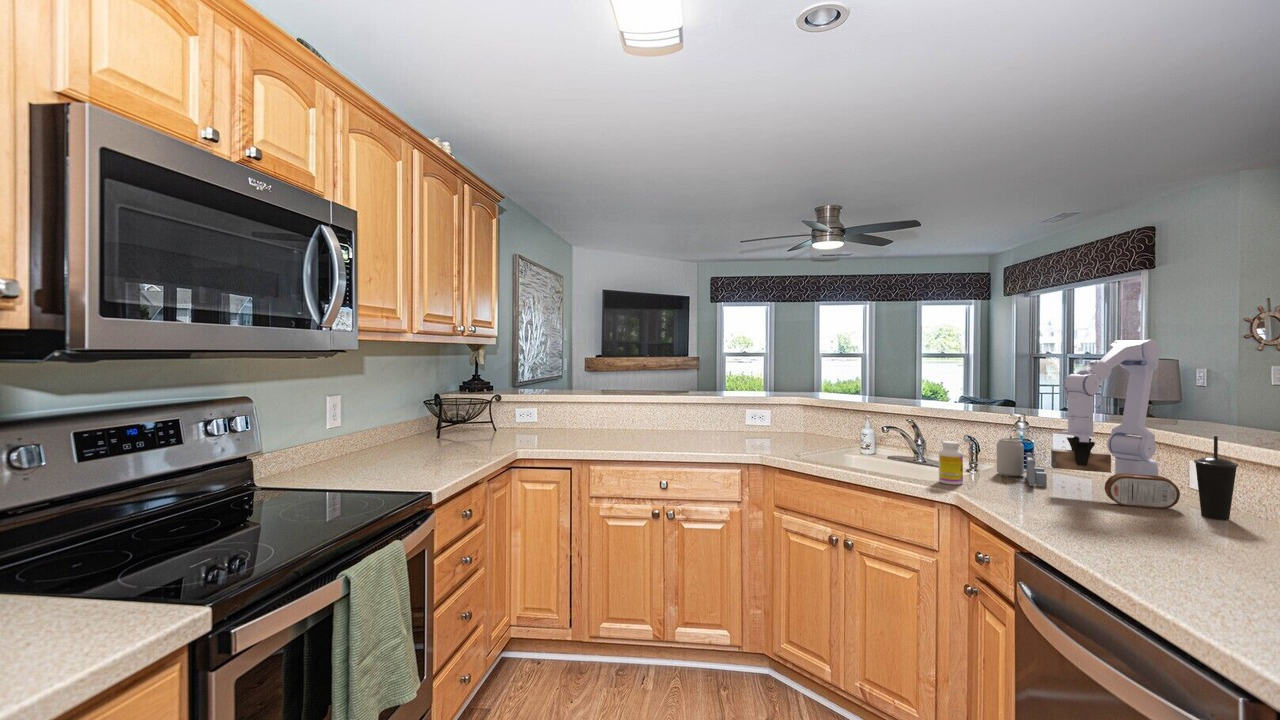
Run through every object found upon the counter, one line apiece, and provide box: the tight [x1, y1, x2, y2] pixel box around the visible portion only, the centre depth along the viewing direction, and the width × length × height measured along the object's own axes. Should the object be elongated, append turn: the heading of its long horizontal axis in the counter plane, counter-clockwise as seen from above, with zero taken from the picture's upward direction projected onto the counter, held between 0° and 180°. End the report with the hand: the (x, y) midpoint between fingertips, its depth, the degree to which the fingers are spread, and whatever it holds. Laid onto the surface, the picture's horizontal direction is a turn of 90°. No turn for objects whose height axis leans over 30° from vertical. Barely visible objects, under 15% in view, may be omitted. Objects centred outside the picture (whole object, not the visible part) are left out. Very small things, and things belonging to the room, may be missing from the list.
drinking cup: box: [1193, 435, 1239, 521], centre depth 139 cm, size 8×8×20 cm
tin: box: [1104, 473, 1181, 510], centre depth 149 cm, size 15×3×8 cm, turn 65°
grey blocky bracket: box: [1025, 452, 1048, 488], centre depth 176 cm, size 5×14×8 cm, turn 149°
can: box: [996, 437, 1025, 477], centre depth 187 cm, size 8×8×12 cm
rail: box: [1050, 448, 1112, 474], centre depth 161 cm, size 13×4×5 cm, turn 59°
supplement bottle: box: [938, 440, 964, 486], centre depth 177 cm, size 7×7×13 cm
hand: (1080, 464), depth 161 cm, fingers closed on rail, 4 cm apart
